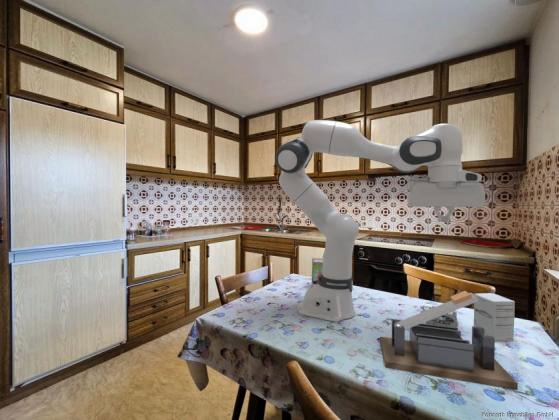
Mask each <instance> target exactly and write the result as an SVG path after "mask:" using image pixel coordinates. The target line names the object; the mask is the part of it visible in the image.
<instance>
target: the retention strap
mask: <svg viewBox="0 0 559 420" xmlns="http://www.w3.org/2000/svg"><path fill="white" fill-rule="evenodd" d="M478 301H479V299H478V298H477V296H475V293H472V292H467V291H466V290H463V291H460V292H458V293H456V294H454V295H451V296H450V300H449V301H446V302H444V303H441V304H438V305H436V306H433V308H431V309H429V308H428V309H429V310H426V311H424V312H421V313H417V314H414V315H412V316H410V317H406V318H404V319H402V320H401V321H399V322H395V323H394V327H395V326H398V327H404V328H405V331H406V330H407V329H410V328H411V327H414V326H416V325H419V324H421V323H423V324H425V323H426V321H429V320H431V319H434V318H437V317H439V316H442V315H444V314H447V313H449V312H450V313H453V312H452V311H457V310H459V309H462V308H465V307H467V306H470V305H472V304H474V303H475V302H478ZM450 313H449V314H450Z"/></svg>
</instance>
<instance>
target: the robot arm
mask: <svg viewBox="0 0 559 420" xmlns="http://www.w3.org/2000/svg"><path fill="white" fill-rule="evenodd" d="M314 153H322V154H327V155H328V154H329V155H331V156H332V155H333V156H340V157H349V158H350V157H351V158H362V159H365V160H370V161H374V162H379V163H382V164H387V165H389V166H390V167H392V168H393V169H395V170H396V171H398V172H400V173H403V174H404V173H405V174H407V173H408V174H409V173H412V172H415V171H417V170H418V169H419V168H420V167H421V166H426V167H427V169H428V170H427V177H413V178H411V179H409V180H408V182H407V191H408V194H407V205H408V206H409V207H413V208H417V207H421V208H422V207H423V208H424V207H425V208H427V207H429V208H430V207H431V208H433V212H434V213H435V214H436V216H437V222H441V223H443V222H444V223H450V222H451V217H452V215H453V214H454V212H455V210H456V208H482V207H483V206H484V205H485V204H486V193H485V188H484V187H485V186H484V185H483V183H481V181H482V178H483V177H482V174H479V173H476V172H472V171H467V170H465V169H463V163H462V160H461V159H462V154H463V135H462V131H461V127H460V126H458V125H456V124H454V123H448V122H447V123H445V122H444V123H438V124H434V125H432V126H431V127H430V128H428V129H427V130H426V131H425V130H424V132H421V133H418V134H416V135H413V136H409V137H407V138H406V139H404V140H403V141H402V142H401V144H400V145H396V146H395V145H393V146H392V145H388V144H384V143H379V142H376V141H372V140H369V139H367V138H366V137H365V136H364V135H363V134H362V132H361V131H360V130H359V129H358V127H357V126H354V125H352V124H349V123H347V122H343V121H342V122H341V121H336V120H330V119H329V120H327V119H325V120H324V119H315V120H314V119H313V120H309V121H308V122H306V123H305V124H304V126H303V129H302V131H301V135H300V137H295V138H291V139H290V140H288V141H286V142H285V143H283V144H281V145H280V146H279V147H278V148H277V151H276V153H275V158H274V161H275V164H276V166H277V168H278V169H279V170H280V171H281V173H280V175H279V179H278V184H279V186H280V187H281V189H282V190H283V191H284V193H285V194H286V196H287V197H288V198H289V199H290V200H291V202H293V203H294V205H296V206H297V208H299V210H300V211H302V213H303V214H304V215H305V216H306V217H307V218H308V219H309V220H310V222H311V223H312V224H313V225H314V226H315V227H316V229H318V230H319V232H320V234H322V235H323V236H324V237H325V244H324V245H325V246H324V250H323V251H324V252H323V254H322V258H323V274H322V273H319V274H318V276H317V277H318V279H317V282H318V284H317V285H315V286H314V287H312V286H311V288H309V289H308V290H307V291H306V292H305V294H304V296H303V300H301V301H300V302H299V304H298V305H297V313H298V314H299V315H303V316H306V317H312V318H315V319H320V320H326V321H329V322H333V323H335V322H336V323H337V322H340V321H342V320H348V319H350V318H351V319H352V318H353V317H354V316H355V315H356V310H355V307H354V302H353V301H354V300H353V290H354V287H353V285H354V283H353V281H354V280H353V276H352V262H353V261H352V259H353V258H352V257H353V253H354V252H353V251H354V247H355V243H356V239H357V237H358V236H359V232H360V230H359V229H360V228H359V224H358V222H357V221H356V220H355V219H354V218H353V217H352V216H350V215H349V214H346V213H340V211H338V209H337V208H336V207H335V206H334V204H332V202H331V201H330V199H329V197H328V196H327V195H326V193H325V192H324V191H323V190H322V189H321V188H320V187H319V186H318V185H317V184H316V183H315V182H314V181H313V180H312V179H311V178H310V177H309V176H308V175H307V173H306V171H305V170H306V168H308V165H309V163H310V162H311V160H312V158H313V154H314ZM444 207H445V208H446V211H447V213H446V215H442V213H441V212H440V211H441V210H442V208H444Z"/></svg>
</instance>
